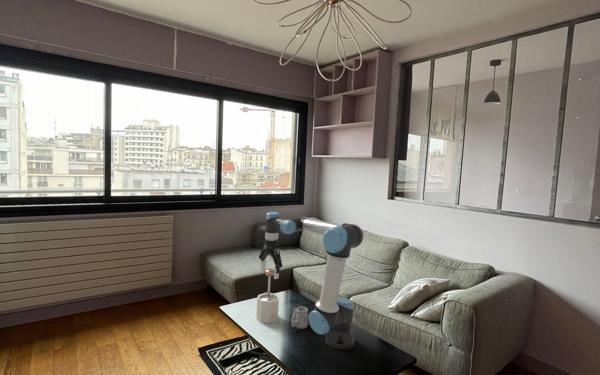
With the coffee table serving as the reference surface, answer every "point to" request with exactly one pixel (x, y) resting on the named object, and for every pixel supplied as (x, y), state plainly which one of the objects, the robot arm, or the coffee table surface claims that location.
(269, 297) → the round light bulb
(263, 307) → the octagonal white cup
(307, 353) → the coffee table surface
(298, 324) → the mug
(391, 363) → the coffee table surface
